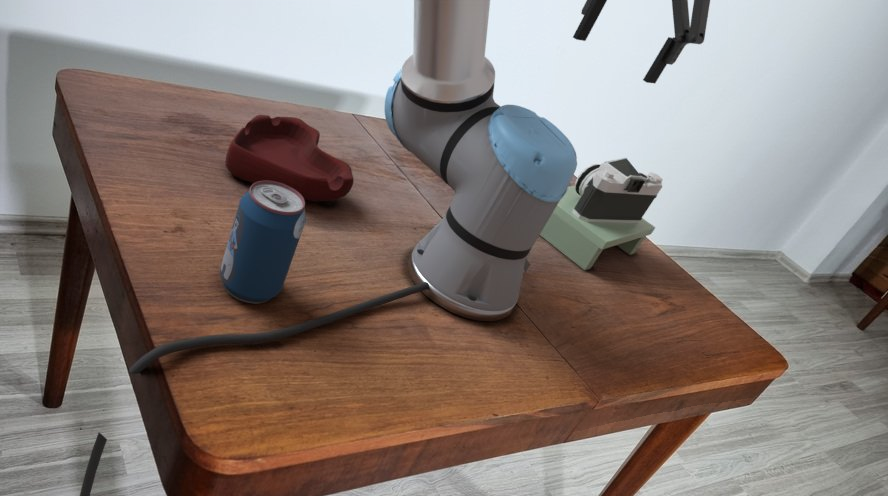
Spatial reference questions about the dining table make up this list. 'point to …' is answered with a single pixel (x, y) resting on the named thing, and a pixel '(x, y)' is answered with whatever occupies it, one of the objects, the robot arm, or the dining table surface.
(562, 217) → the shelf
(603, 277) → the dining table surface
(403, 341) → the dining table surface
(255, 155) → the ashtray
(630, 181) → the camera
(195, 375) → the dining table surface
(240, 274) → the soda can
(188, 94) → the dining table surface
